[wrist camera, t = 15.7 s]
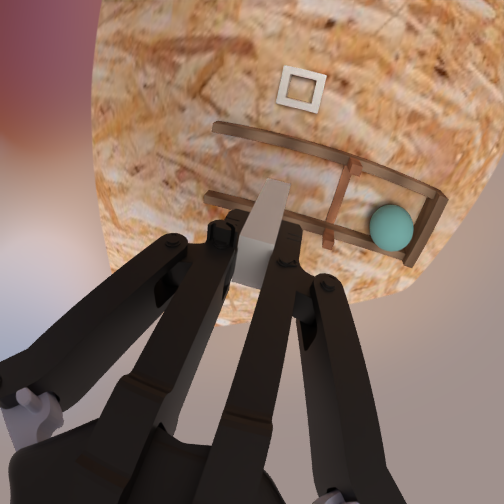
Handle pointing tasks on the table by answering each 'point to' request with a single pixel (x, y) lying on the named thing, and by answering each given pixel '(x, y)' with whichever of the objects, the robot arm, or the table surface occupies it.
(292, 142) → the lane
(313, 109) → the white square frame
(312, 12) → the table surface
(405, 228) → the ball
